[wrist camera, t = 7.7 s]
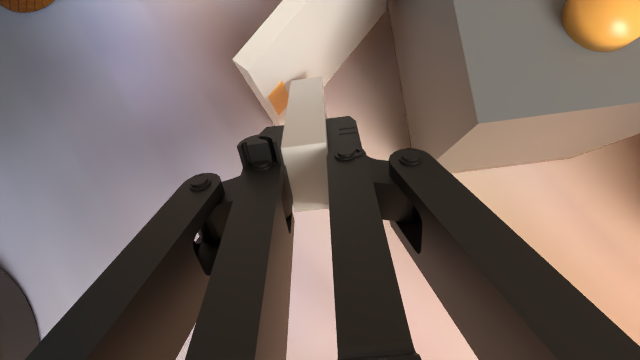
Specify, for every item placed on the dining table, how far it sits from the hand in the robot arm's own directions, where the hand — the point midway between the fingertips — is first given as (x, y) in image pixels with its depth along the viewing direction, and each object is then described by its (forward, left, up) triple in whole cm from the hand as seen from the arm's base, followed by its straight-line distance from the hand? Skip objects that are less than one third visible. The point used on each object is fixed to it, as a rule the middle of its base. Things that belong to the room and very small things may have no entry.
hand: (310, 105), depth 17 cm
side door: (-1, +4, -4) cm, 6 cm away
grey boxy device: (+4, +11, -5) cm, 13 cm away
